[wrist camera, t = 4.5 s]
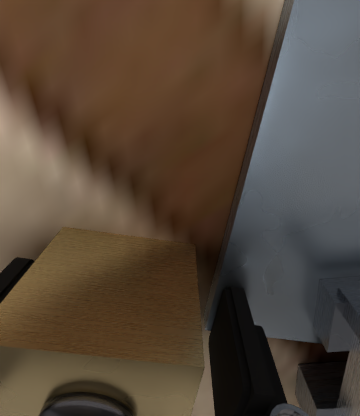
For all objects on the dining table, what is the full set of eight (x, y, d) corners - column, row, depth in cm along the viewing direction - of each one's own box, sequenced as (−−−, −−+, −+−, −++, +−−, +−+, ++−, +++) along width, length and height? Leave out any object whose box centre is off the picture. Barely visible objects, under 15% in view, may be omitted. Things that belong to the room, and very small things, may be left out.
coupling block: (194, 243, 10) (205, 381, 6) (176, 333, 13) (173, 490, 8) (63, 226, 10) (-43, 355, 5) (67, 321, 12) (-7, 475, 7)
